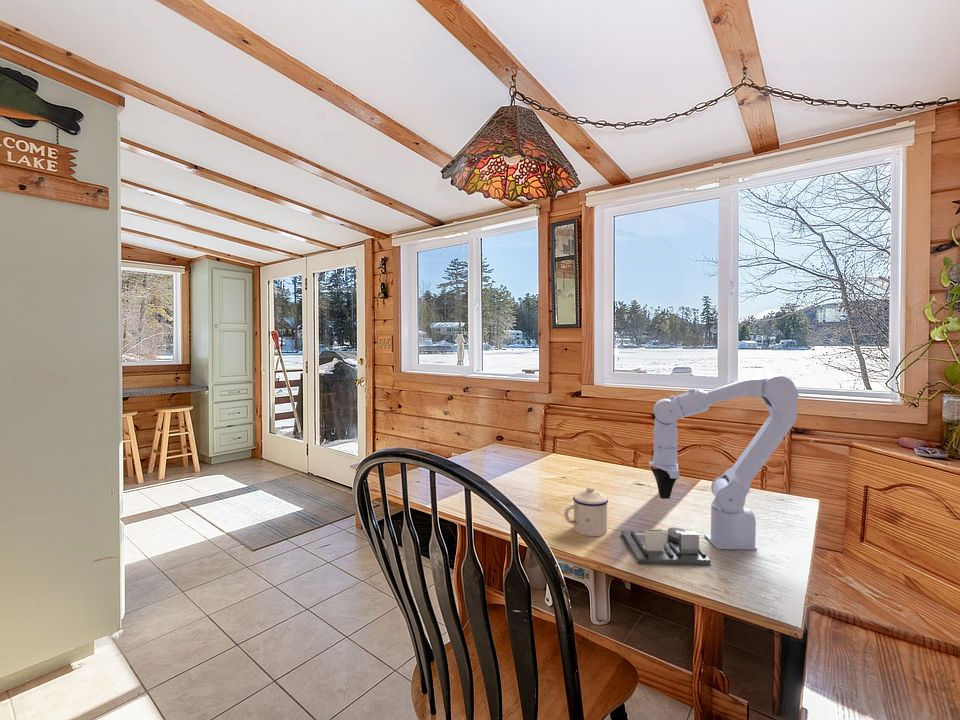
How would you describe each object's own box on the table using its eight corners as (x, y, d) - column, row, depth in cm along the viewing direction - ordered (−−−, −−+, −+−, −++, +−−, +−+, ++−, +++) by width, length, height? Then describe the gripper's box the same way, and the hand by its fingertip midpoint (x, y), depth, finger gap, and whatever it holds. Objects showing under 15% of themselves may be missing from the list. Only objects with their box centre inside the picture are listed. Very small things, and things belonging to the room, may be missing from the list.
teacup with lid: (596, 522, 132) (597, 481, 132) (614, 535, 123) (614, 491, 123) (557, 526, 129) (557, 484, 128) (572, 540, 120) (572, 495, 120)
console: (683, 535, 123) (684, 513, 123) (710, 565, 107) (710, 539, 107) (621, 534, 124) (621, 512, 123) (638, 564, 108) (638, 538, 108)
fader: (662, 548, 113) (662, 529, 112) (664, 550, 111) (664, 531, 111) (645, 547, 113) (645, 528, 113) (647, 550, 111) (647, 531, 111)
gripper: (641, 439, 129) (641, 488, 130) (658, 452, 115) (658, 507, 116) (667, 439, 129) (667, 488, 130) (688, 452, 115) (687, 508, 115)
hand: (664, 497), depth 123 cm, fingers closed
